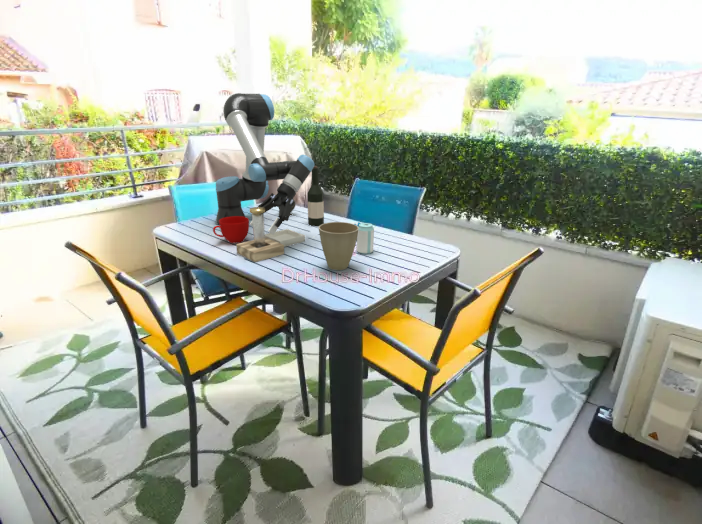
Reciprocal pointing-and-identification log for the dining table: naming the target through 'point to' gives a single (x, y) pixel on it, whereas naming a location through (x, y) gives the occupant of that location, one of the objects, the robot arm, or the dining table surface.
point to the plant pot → (338, 243)
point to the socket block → (260, 250)
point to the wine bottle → (315, 201)
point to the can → (365, 238)
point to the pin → (258, 226)
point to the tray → (286, 237)
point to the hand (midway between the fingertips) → (261, 229)
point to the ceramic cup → (233, 228)
